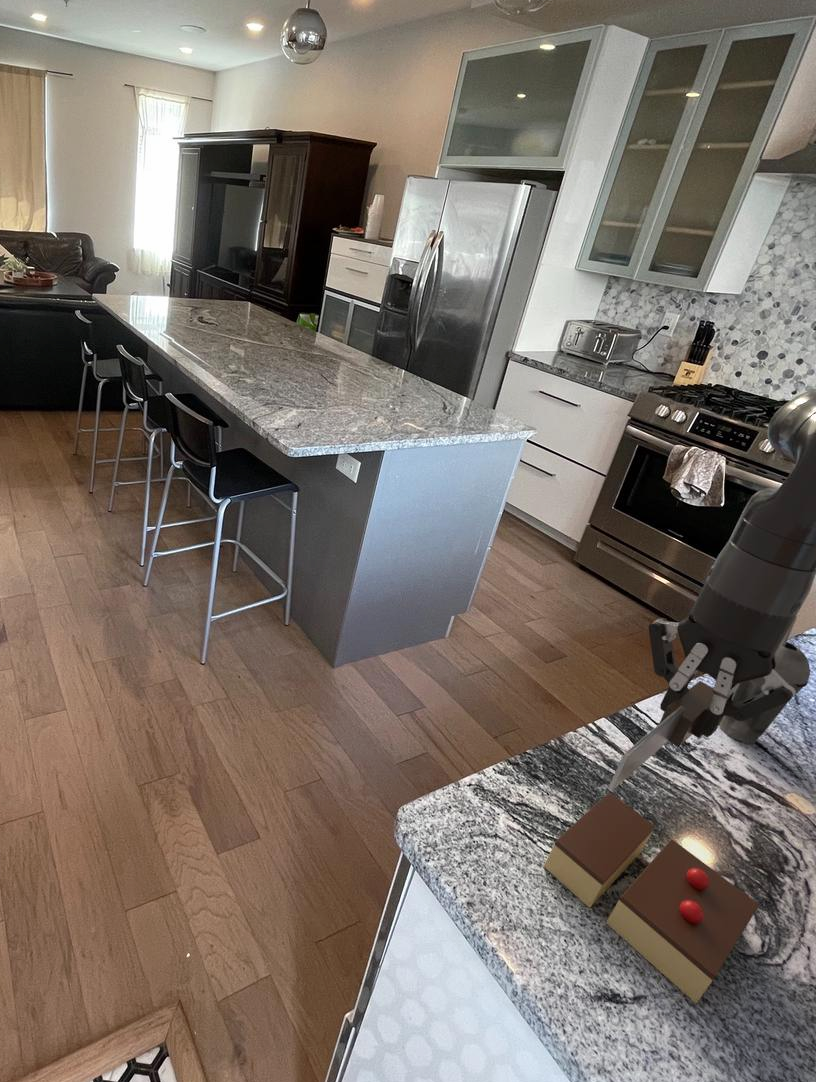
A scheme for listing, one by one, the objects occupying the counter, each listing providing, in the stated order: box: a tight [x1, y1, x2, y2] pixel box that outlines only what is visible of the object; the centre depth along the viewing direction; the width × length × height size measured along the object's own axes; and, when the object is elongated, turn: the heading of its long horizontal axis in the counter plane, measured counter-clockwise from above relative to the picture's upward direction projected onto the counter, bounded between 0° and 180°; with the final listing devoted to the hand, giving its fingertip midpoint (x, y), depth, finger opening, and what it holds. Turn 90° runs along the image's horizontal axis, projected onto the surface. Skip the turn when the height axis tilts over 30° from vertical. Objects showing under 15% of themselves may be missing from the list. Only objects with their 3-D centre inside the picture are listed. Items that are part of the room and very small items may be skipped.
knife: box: [607, 680, 714, 792], centre depth 65 cm, size 22×2×4 cm, turn 125°
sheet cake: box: [605, 838, 760, 1004], centre depth 61 cm, size 12×8×6 cm, turn 126°
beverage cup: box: [718, 615, 811, 745], centre depth 87 cm, size 7×7×20 cm
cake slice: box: [543, 791, 656, 909], centre depth 67 cm, size 12×5×4 cm, turn 126°
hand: (683, 724), depth 69 cm, fingers closed on knife, 2 cm apart
